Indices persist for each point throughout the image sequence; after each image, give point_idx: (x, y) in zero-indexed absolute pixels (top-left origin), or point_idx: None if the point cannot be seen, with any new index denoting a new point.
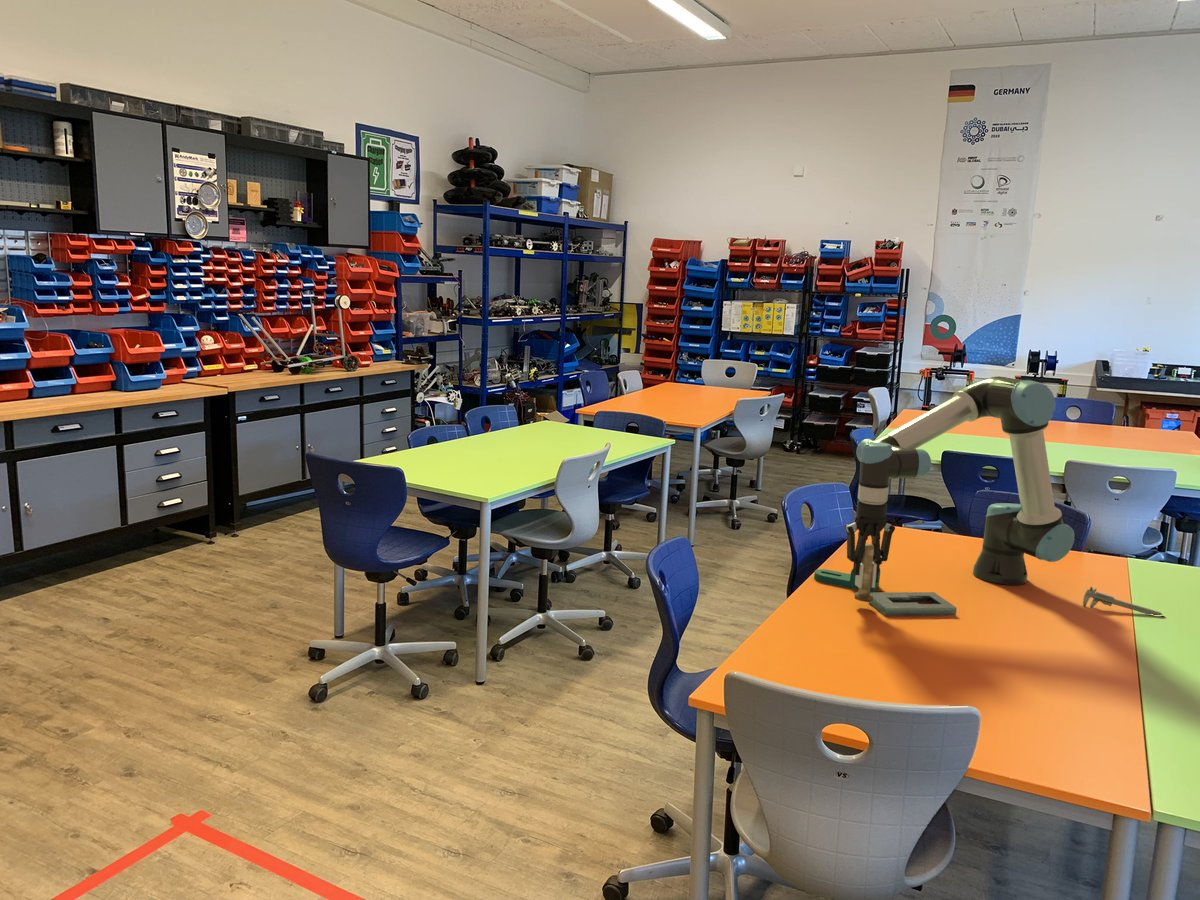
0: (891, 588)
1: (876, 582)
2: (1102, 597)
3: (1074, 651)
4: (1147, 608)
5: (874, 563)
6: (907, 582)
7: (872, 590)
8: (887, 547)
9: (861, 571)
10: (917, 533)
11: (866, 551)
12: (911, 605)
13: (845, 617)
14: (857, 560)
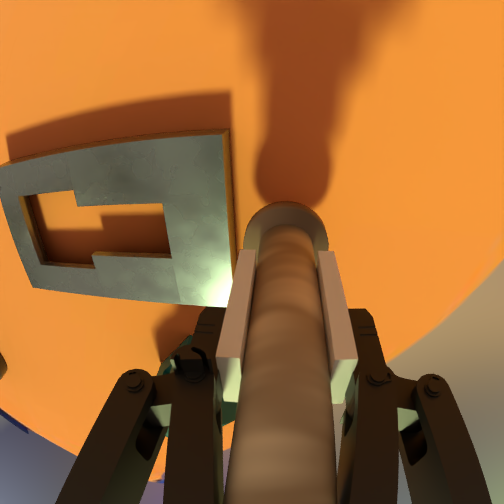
0: (130, 351)
1: (167, 369)
2: None
3: None
4: None
5: (228, 370)
6: (92, 368)
7: (190, 341)
8: (91, 470)
9: (341, 318)
10: None
11: (323, 469)
12: (100, 174)
13: (410, 127)
14: (395, 387)
